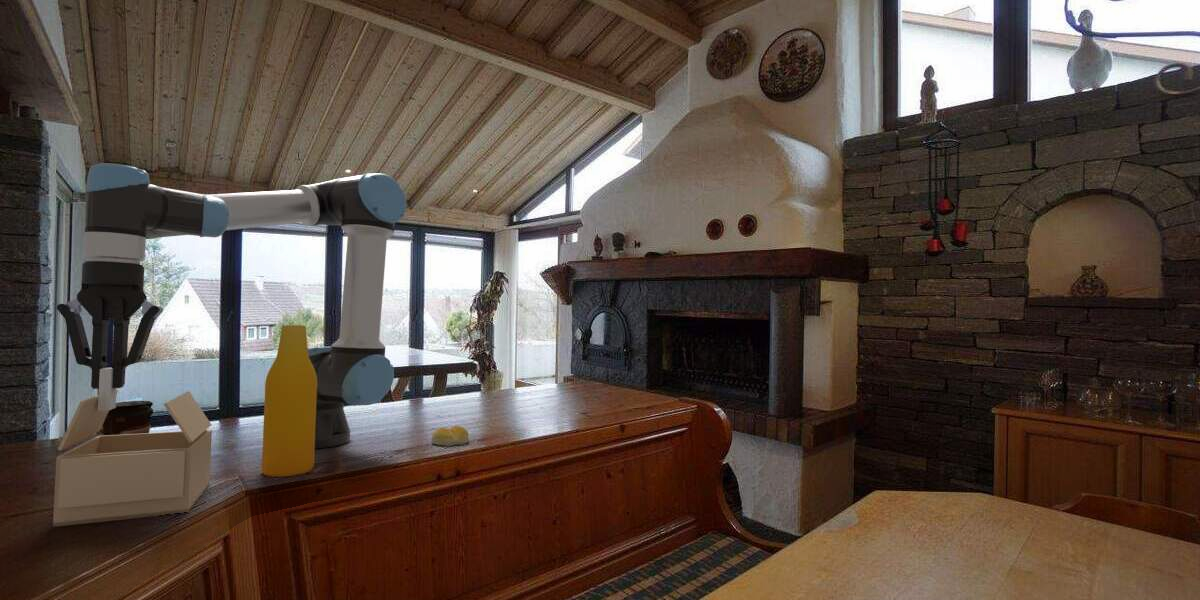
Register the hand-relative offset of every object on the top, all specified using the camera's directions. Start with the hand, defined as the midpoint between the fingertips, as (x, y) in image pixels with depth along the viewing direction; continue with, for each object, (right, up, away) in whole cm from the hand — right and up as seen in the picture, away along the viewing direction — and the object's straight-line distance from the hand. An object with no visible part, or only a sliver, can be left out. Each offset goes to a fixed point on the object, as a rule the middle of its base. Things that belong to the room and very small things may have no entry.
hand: (106, 409), depth 88 cm
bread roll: (+41, -19, +50) cm, 68 cm away
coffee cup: (-15, -16, +20) cm, 30 cm away
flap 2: (+10, -2, +5) cm, 11 cm away
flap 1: (-2, -1, -1) cm, 2 cm away
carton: (+4, -16, +2) cm, 16 cm away
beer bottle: (+17, -17, +22) cm, 32 cm away
